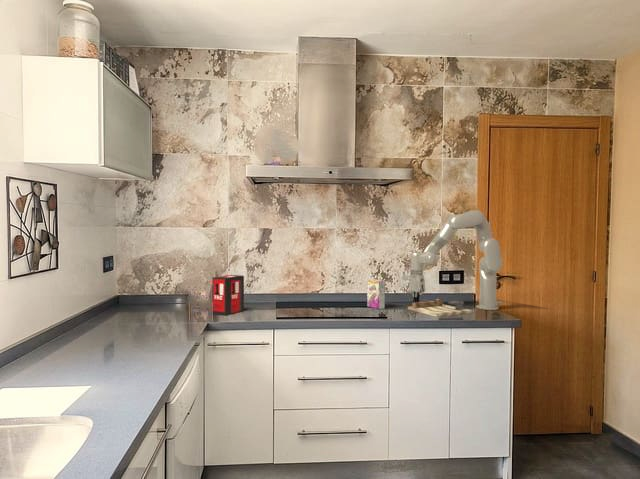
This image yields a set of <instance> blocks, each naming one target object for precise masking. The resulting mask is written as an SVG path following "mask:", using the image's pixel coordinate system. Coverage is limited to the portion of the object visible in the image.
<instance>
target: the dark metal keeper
mask: <svg viewBox="0 0 640 479" xmlns="http://www.w3.org/2000/svg"><path fill="white" fill-rule="evenodd" d="M464 303H465V302H464V301H461V300H453V301H447V305H451V306H453V305H454V307H455V309H457V310H463V308H464Z"/></svg>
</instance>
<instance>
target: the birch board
mask: <svg viewBox="0 0 640 479" xmlns="http://www.w3.org/2000/svg"><path fill="white" fill-rule="evenodd" d="M407 310H409V311H413V312H416V313H417V312H418V313H422V314H424V315H425V314H426V315H429V316H433V317H443V316H454V315H465V314H473V309H467V308H465V307H463V310H457V309H455V305H454V306H453V305H450V304H444V303H442V306H430V307H418V308H415V307H412V306H407Z"/></svg>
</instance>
